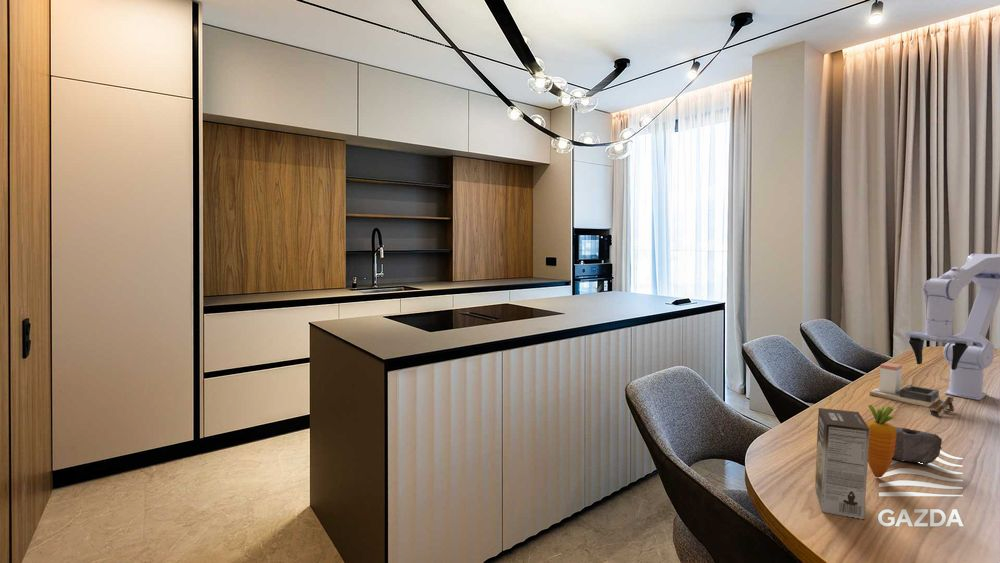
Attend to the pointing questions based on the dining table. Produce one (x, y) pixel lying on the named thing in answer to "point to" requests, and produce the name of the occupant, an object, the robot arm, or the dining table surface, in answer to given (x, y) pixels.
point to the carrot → (881, 441)
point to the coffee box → (842, 462)
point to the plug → (890, 377)
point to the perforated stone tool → (916, 446)
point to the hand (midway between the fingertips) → (936, 366)
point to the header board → (911, 395)
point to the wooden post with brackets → (942, 406)
